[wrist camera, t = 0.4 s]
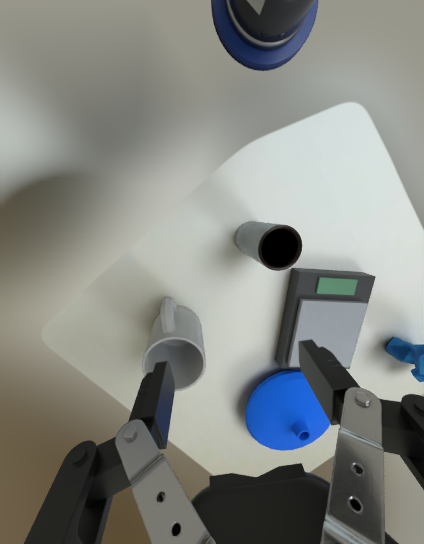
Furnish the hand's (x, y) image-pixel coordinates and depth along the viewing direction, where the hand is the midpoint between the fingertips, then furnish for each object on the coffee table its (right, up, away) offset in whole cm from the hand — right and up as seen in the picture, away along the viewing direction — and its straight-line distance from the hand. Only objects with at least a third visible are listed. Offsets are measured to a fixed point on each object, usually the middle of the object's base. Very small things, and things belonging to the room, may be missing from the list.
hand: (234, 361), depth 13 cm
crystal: (+32, -8, +26) cm, 42 cm away
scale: (+16, -2, +23) cm, 28 cm away
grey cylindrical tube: (+4, +10, +18) cm, 21 cm away
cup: (-7, -2, +20) cm, 21 cm away
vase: (+12, -17, +26) cm, 33 cm away
